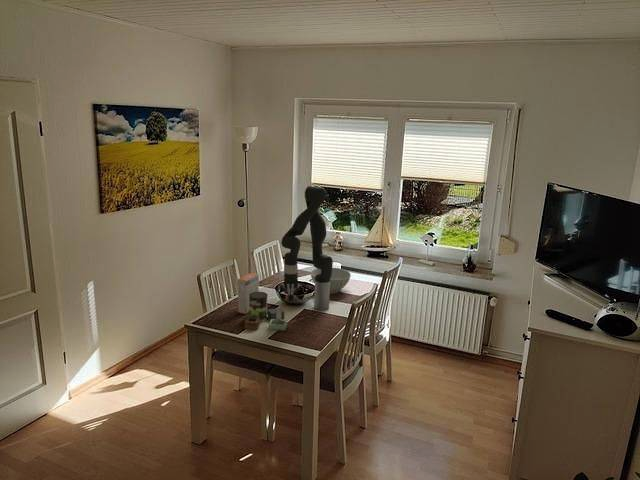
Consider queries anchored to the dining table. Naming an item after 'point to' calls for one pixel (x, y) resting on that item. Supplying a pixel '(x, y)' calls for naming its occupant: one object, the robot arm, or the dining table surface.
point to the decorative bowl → (334, 278)
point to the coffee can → (258, 305)
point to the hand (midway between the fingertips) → (290, 300)
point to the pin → (278, 317)
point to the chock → (274, 313)
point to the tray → (278, 325)
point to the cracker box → (246, 291)
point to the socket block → (252, 323)
